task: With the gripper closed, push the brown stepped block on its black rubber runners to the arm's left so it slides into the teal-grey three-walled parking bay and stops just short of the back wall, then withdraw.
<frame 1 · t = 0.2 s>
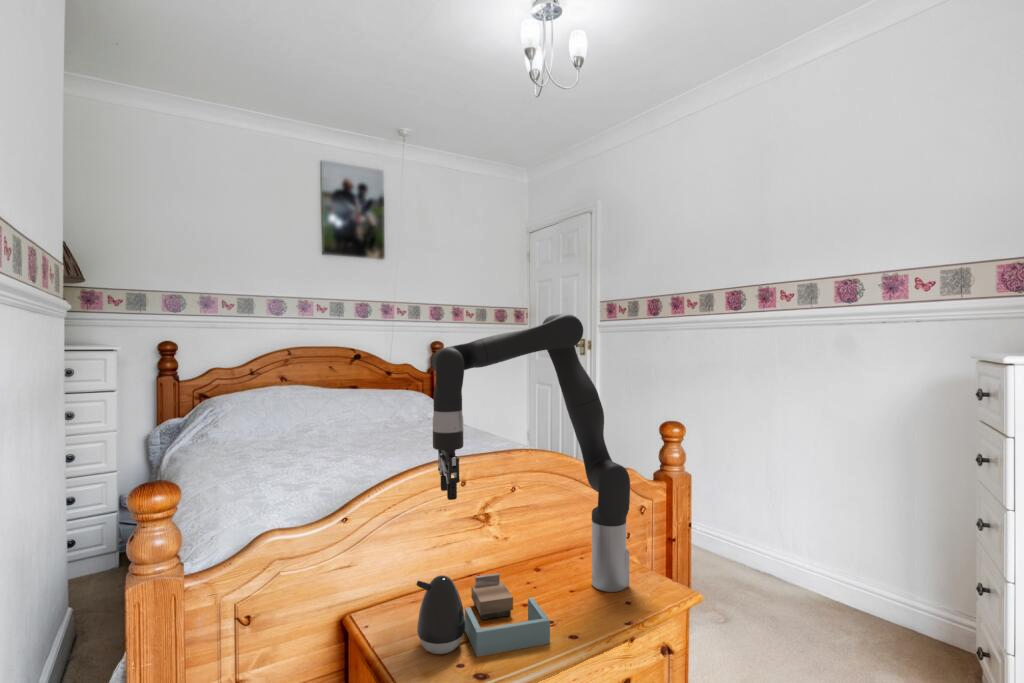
hand: (448, 494, 133), 28 cm above the cabinet, fingers open, 8 cm apart
pump dispenser: (440, 648, 116), on the cabinet
dock bay: (503, 631, 122), on the cabinet
brown stepped block: (491, 611, 132), on the cabinet
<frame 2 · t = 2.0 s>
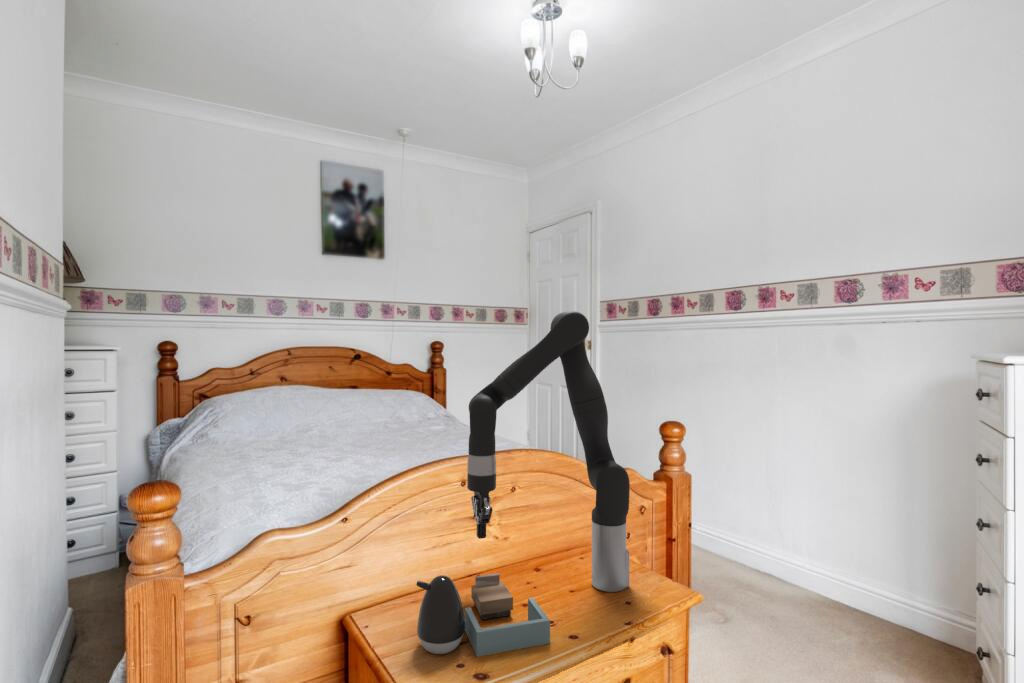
hand: (481, 537, 141), 15 cm above the cabinet, fingers closed
nothing on the cabinet moved.
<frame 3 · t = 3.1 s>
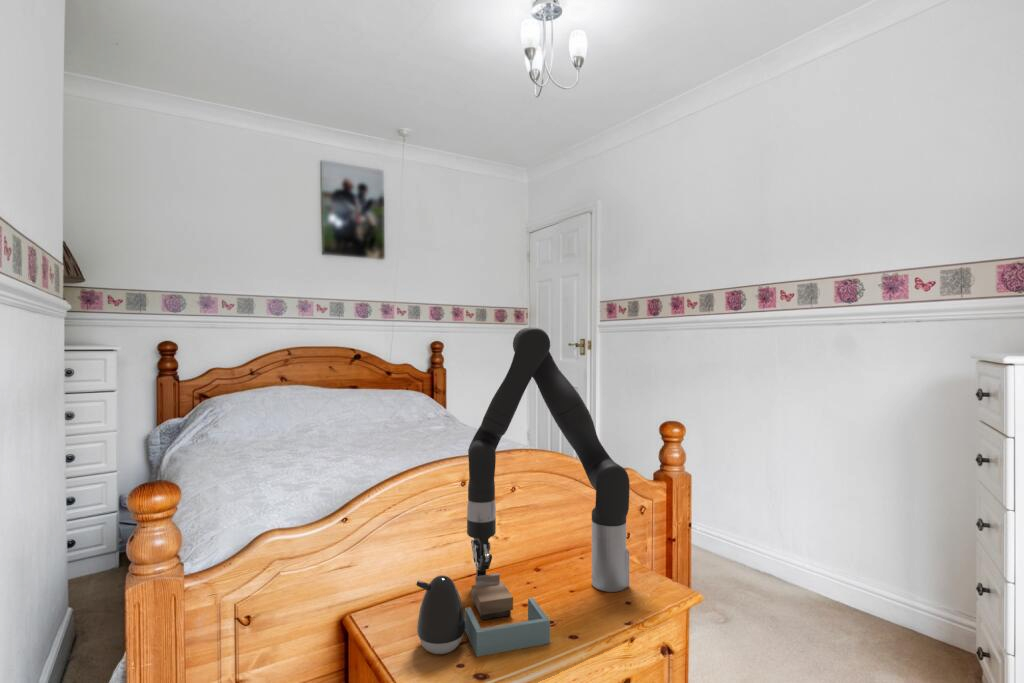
hand: (481, 582, 141), 3 cm above the cabinet, fingers closed
nothing on the cabinet moved.
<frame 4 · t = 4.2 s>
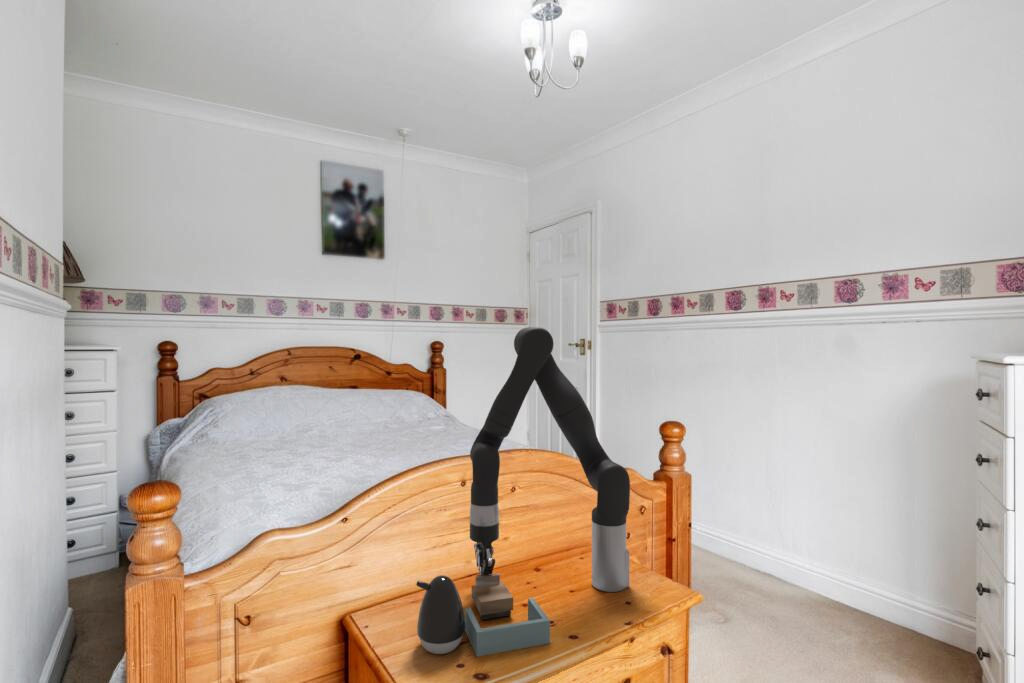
hand: (484, 587, 138), 3 cm above the cabinet, fingers closed
brown stepped block: (491, 611, 131), on the cabinet, touching gripper
everything else where it was.
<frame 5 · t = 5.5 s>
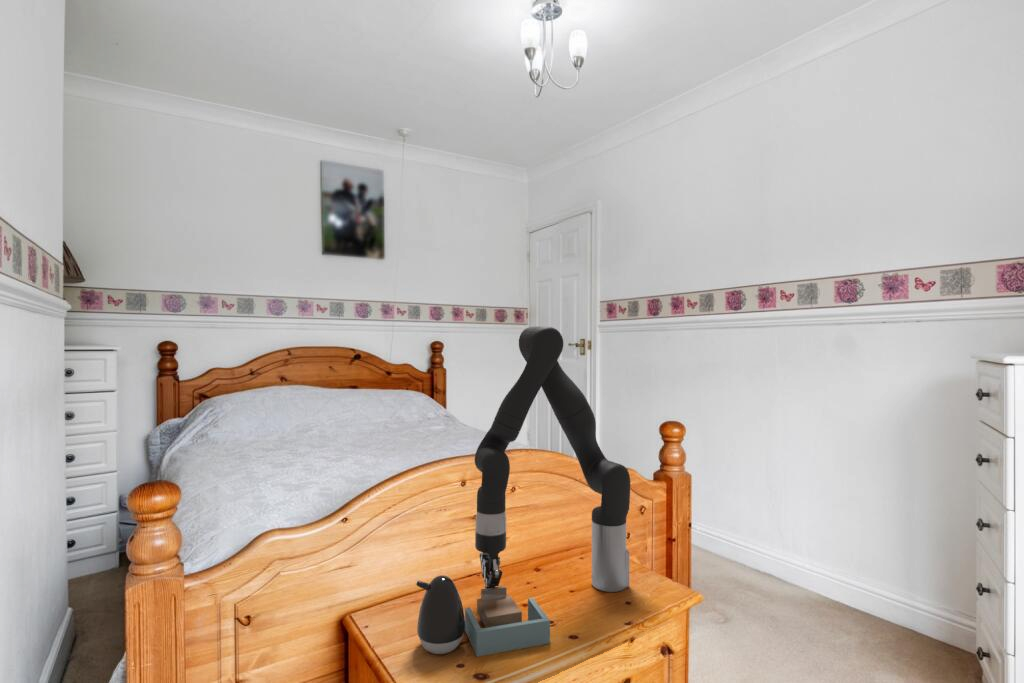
hand: (490, 599, 131), 3 cm above the cabinet, fingers closed
brown stepped block: (498, 626, 124), on the cabinet, touching gripper
everything else where it was.
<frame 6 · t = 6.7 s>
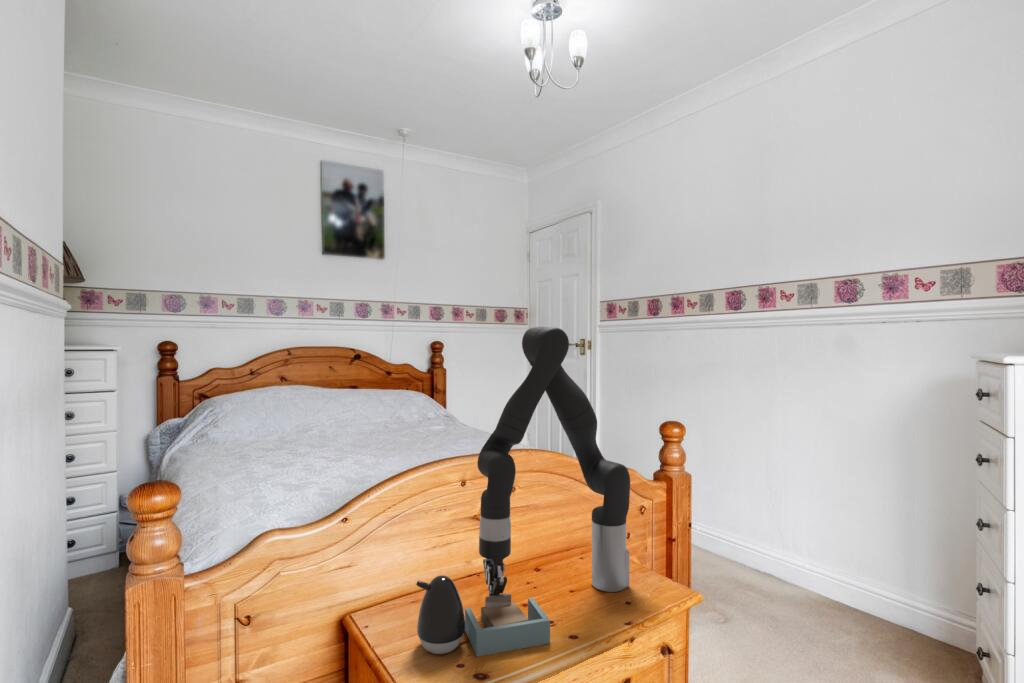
hand: (494, 607, 128), 3 cm above the cabinet, fingers closed
brown stepped block: (504, 634, 121), on the cabinet, touching gripper
everything else where it was.
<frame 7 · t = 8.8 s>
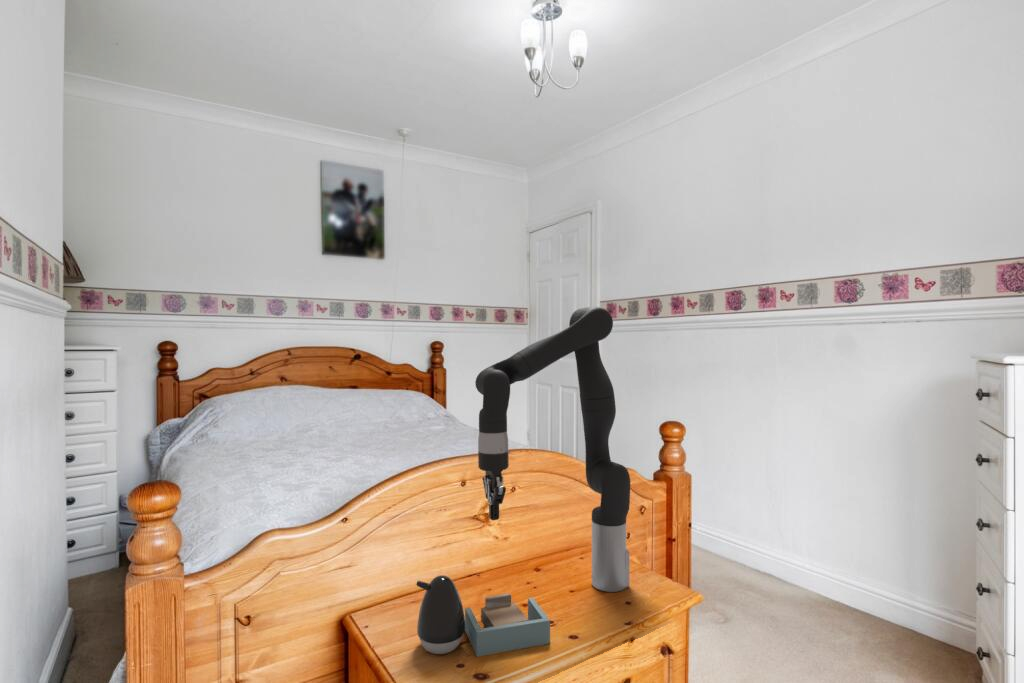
hand: (494, 518, 134), 22 cm above the cabinet, fingers closed
brown stepped block: (504, 635, 121), on the cabinet
everything else where it was.
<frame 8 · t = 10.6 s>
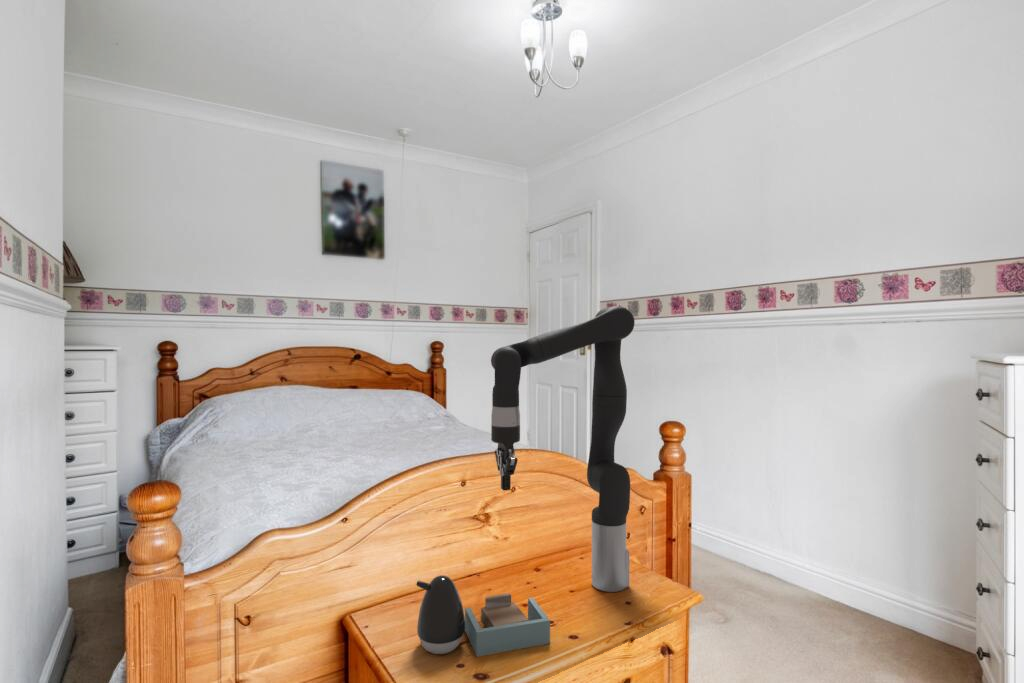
hand: (505, 489, 141), 27 cm above the cabinet, fingers closed
nothing on the cabinet moved.
at the end: brown stepped block inside the target area on the dock bay (0.3 cm from its centre), point 0.0 cm above the dock bay's base; brown stepped block tilted 0°; brown stepped block moved 11.4 cm from its start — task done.
